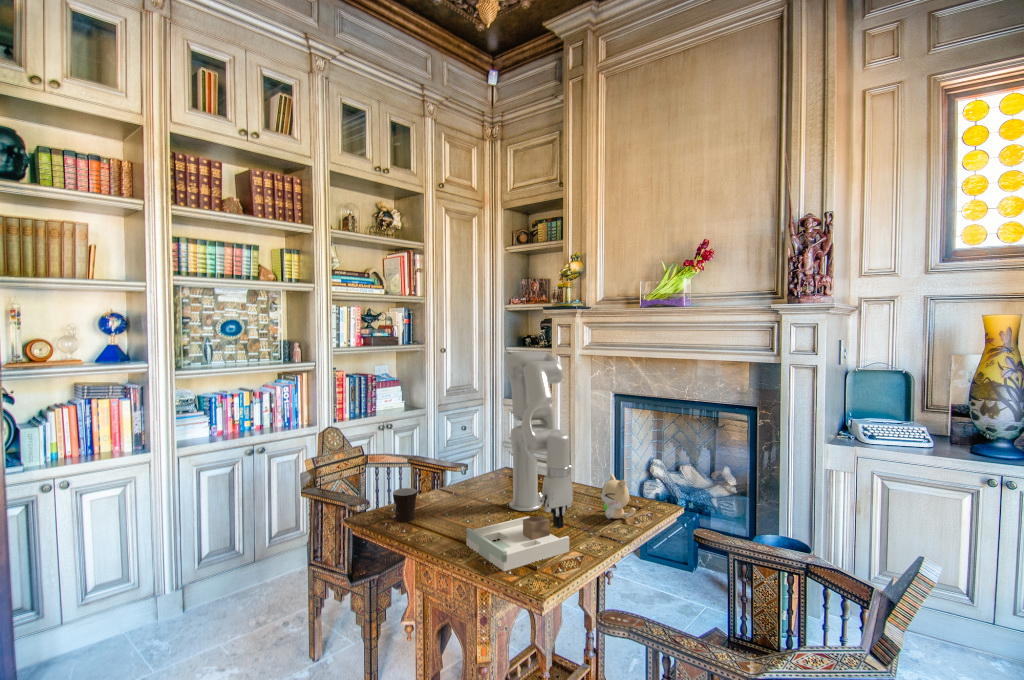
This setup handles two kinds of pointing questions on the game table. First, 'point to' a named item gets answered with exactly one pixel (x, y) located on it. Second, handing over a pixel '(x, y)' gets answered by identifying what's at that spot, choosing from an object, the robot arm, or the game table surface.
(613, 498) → the kitten
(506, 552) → the board
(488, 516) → the game table surface
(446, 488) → the game table surface
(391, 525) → the game table surface
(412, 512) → the coffee mug
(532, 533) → the walnut block
